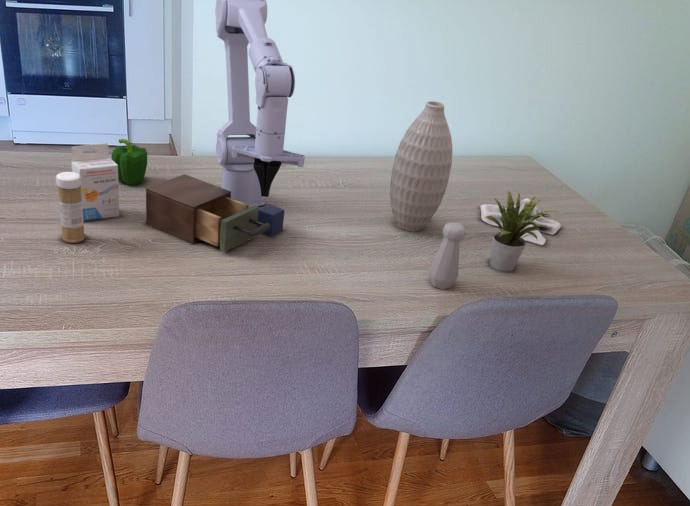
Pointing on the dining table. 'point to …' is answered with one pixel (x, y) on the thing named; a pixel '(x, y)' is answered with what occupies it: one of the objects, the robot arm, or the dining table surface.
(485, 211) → the cloth
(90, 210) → the ink box
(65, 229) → the sprinkles bottle
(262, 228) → the drawer
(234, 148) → the robot arm
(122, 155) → the bell pepper
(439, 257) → the salt shaker
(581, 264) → the dining table surface
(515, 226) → the house plant
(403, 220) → the vase
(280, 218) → the box
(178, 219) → the cabinet
